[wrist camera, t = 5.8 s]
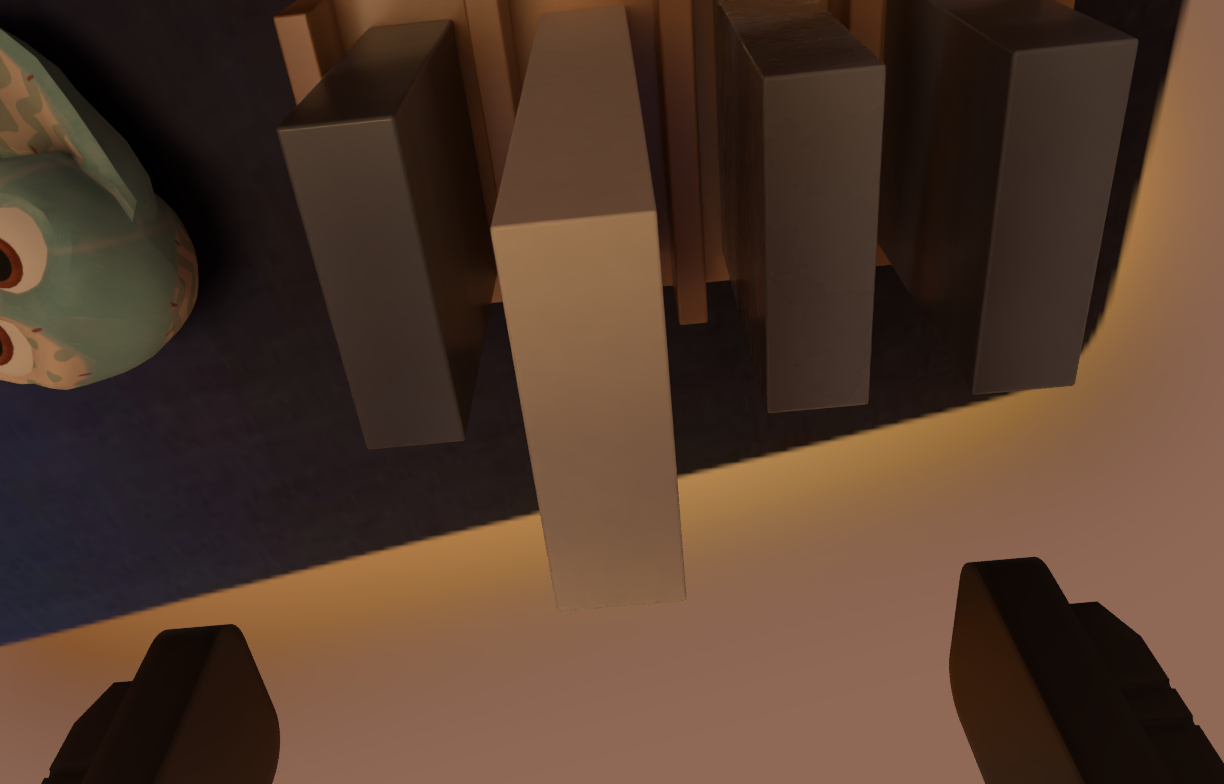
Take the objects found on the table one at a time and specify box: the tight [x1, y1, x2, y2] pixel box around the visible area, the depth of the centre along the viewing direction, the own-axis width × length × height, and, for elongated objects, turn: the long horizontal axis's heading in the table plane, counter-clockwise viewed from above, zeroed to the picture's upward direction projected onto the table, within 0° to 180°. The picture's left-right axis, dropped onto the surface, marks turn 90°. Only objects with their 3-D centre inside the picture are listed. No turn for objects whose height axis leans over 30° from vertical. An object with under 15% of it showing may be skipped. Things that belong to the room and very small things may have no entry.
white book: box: [490, 5, 686, 611], centre depth 20 cm, size 2×7×14 cm, turn 6°
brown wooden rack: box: [273, 0, 1138, 449], centre depth 23 cm, size 18×9×10 cm, turn 96°
